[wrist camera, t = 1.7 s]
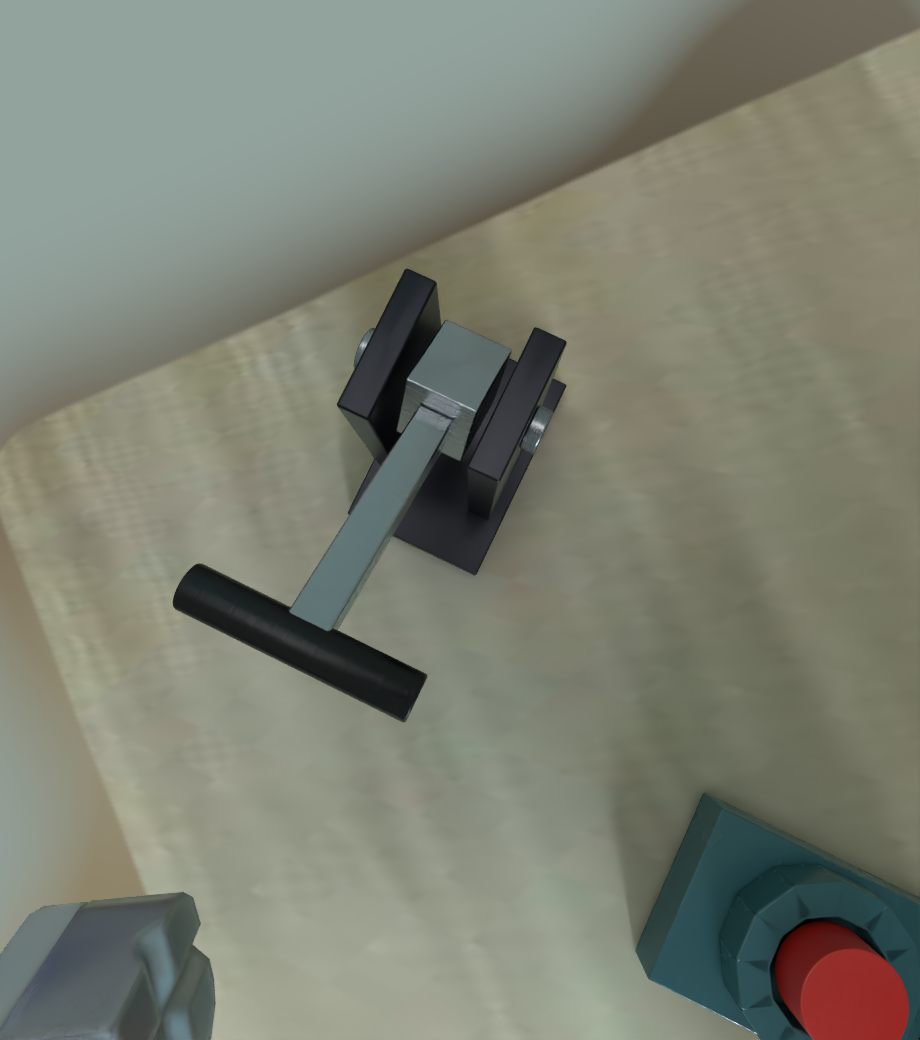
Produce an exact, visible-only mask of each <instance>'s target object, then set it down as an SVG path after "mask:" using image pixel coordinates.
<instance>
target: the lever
mask: <svg viewBox="0 0 920 1040" xmlns="http://www.w3.org/2000/svg"><path fill="white" fill-rule="evenodd" d="M510 355H511V349H509V348H507V347H505V346H502V345H500V344H498V343H496V342H494V341H492V340H489V339H487V338H485V337H483V336H481V335H479V334H476V333H474V332H472V331H470V330H468V329H466V328H463V327H461V326H459V325H457V324H455V323H453V322H450V321H448V320H445V322H444V323H443V325H442V326H441V328H440V329H439V331H438V332H437V334H436V335H435V337H434V338H433V340H432V341H431V342H430V344H429V345H428V347H427V348H426V350H425V351H424V353H423V354H422V356H421V357H420V359H419V360H418V362H417V363H416V365H415V366H414V368H413V369H412V371H411V372H410V374H409V375H408V377H407V378H406V383H405V388H404V393H403V398H402V403H401V409H400V414H399V419H398V424H397V432H400V433H401V435H400V436H399V438H398V439H397V441H396V443H395V444H394V446H393V447H392V449H391V450H390V452H389V454H388V455H387V457H386V458H385V460H384V461H383V463H382V465H381V466H380V468H379V469H378V471H377V472H376V474H375V476H374V477H373V479H372V480H371V482H370V483H369V485H368V487H367V488H366V490H365V491H364V493H363V494H362V496H361V498H360V499H359V501H358V502H357V504H356V505H355V507H354V509H353V510H352V512H351V513H350V515H349V516H348V518H347V520H346V521H345V523H344V524H343V526H342V527H341V529H340V531H339V532H338V534H337V535H336V537H335V539H334V540H333V542H332V543H331V545H330V546H329V548H328V550H327V551H326V553H325V554H324V556H323V557H322V559H321V561H320V562H319V564H318V565H317V567H316V568H315V570H314V572H313V573H312V575H311V576H310V578H309V579H308V581H307V583H306V584H305V586H304V587H303V589H302V590H301V592H300V594H299V595H298V597H297V598H296V600H295V601H294V603H293V605H292V606H291V607H289V606H287V605H285V604H283V603H281V602H279V601H277V600H275V599H273V598H271V597H269V596H267V595H265V594H263V593H261V592H259V591H256V590H254V589H252V588H250V587H248V586H246V585H244V584H242V583H240V582H238V581H236V580H234V579H232V578H230V577H228V576H226V575H224V574H222V573H220V572H218V571H216V570H214V569H212V568H210V567H208V566H206V565H204V564H196V565H194V566H193V567H192V568H191V569H190V570H189V571H188V572H187V573H186V574H185V576H184V577H183V578H182V580H181V582H180V583H179V585H178V587H177V589H176V592H175V595H174V598H173V607H174V608H175V609H176V610H178V611H180V612H182V613H184V614H186V615H188V616H190V617H192V618H194V619H196V620H198V621H200V622H202V623H204V624H206V625H208V626H210V627H212V628H214V629H216V630H218V631H220V632H222V633H224V634H226V635H228V636H230V637H232V638H234V639H236V640H238V641H240V642H242V643H244V644H246V645H248V646H250V647H252V648H254V649H256V650H258V651H260V652H262V653H264V654H266V655H268V656H271V657H273V658H275V659H277V660H279V661H281V662H283V663H285V664H287V665H289V666H291V667H293V668H295V669H297V670H299V671H301V672H303V673H305V674H307V675H309V676H311V677H313V678H315V679H317V680H319V681H321V682H323V683H325V684H327V685H329V686H331V687H333V688H335V689H337V690H339V691H341V692H343V693H345V694H347V695H349V696H351V697H353V698H355V699H357V700H359V701H361V702H363V703H365V704H367V705H369V706H371V707H373V708H375V709H377V710H379V711H381V712H383V713H385V714H387V715H389V716H391V717H393V718H395V719H397V720H399V721H401V722H406V720H407V718H408V716H409V714H410V712H411V710H412V708H413V706H414V704H415V701H416V699H417V697H418V695H419V693H420V691H421V689H422V687H423V685H424V683H425V681H426V678H427V674H425V673H423V672H421V671H419V670H417V669H415V668H413V667H411V666H409V665H407V664H405V663H403V662H401V661H399V660H397V659H395V658H393V657H391V656H389V655H387V654H385V653H383V652H380V651H378V650H376V649H374V648H372V647H370V646H368V645H366V644H364V643H362V642H360V641H358V640H356V639H354V638H352V637H350V636H348V635H346V634H344V633H342V632H340V631H338V629H339V627H340V626H341V624H342V622H343V621H344V619H345V617H346V615H347V614H348V612H349V610H350V608H351V607H352V605H353V603H354V602H355V600H356V598H357V596H358V595H359V593H360V591H361V589H362V588H363V586H364V584H365V583H366V581H367V579H368V577H369V576H370V574H371V572H372V571H373V569H374V567H375V565H376V564H377V562H378V560H379V558H380V557H381V555H382V553H383V552H384V550H385V548H386V546H387V545H388V543H389V541H390V539H391V538H392V536H393V534H394V533H395V531H396V529H397V527H398V526H399V524H400V522H401V520H402V519H403V517H404V515H405V514H406V512H407V510H408V508H409V507H410V505H411V503H412V502H413V500H414V498H415V496H416V495H417V493H418V491H419V489H420V488H421V486H422V484H423V483H424V481H425V479H426V477H427V476H428V474H429V472H430V470H431V469H432V467H433V465H434V464H435V462H436V460H437V458H438V457H439V455H440V453H441V452H442V453H444V454H446V455H448V456H450V457H452V458H454V459H457V460H459V461H461V460H462V458H463V456H464V454H465V453H466V451H467V449H468V447H469V445H470V444H471V442H472V440H473V438H474V436H475V435H476V433H477V431H478V429H479V427H480V425H481V424H482V422H483V420H484V418H485V416H486V415H487V413H488V411H489V409H490V407H491V406H492V404H493V402H494V399H495V397H496V394H497V391H498V388H499V385H500V383H501V380H502V377H503V374H504V371H505V369H506V366H507V363H508V360H509V358H510Z"/></svg>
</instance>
